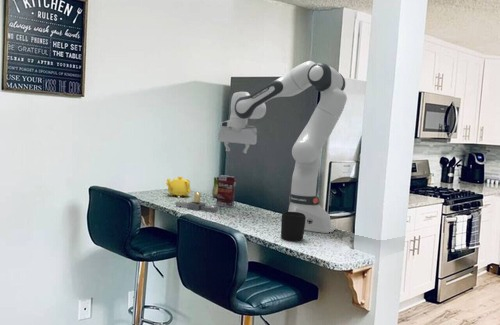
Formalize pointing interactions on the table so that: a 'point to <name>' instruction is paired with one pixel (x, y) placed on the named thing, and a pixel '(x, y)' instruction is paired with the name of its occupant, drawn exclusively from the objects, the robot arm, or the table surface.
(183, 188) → the teapot
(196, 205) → the chain joint
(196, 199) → the pin
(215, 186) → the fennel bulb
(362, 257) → the table surface
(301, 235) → the pen holder
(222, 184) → the supplement box
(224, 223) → the table surface
